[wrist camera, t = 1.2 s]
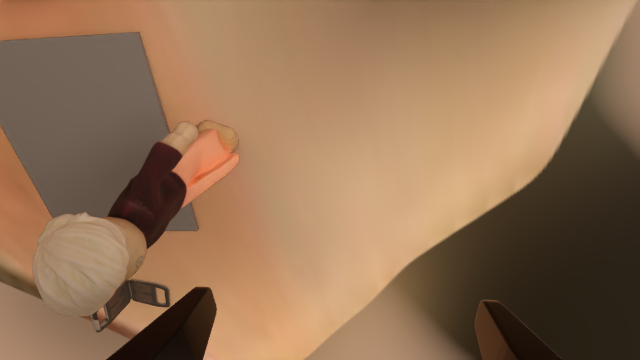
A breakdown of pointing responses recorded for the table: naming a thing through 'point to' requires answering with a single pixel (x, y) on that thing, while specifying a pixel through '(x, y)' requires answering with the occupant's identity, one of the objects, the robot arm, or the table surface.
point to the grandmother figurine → (129, 220)
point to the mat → (82, 118)
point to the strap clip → (122, 296)
